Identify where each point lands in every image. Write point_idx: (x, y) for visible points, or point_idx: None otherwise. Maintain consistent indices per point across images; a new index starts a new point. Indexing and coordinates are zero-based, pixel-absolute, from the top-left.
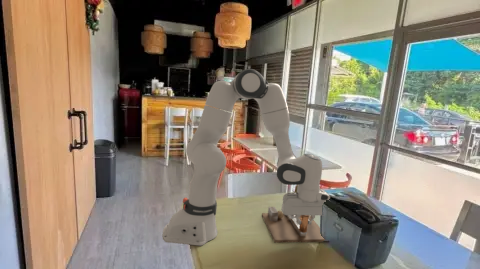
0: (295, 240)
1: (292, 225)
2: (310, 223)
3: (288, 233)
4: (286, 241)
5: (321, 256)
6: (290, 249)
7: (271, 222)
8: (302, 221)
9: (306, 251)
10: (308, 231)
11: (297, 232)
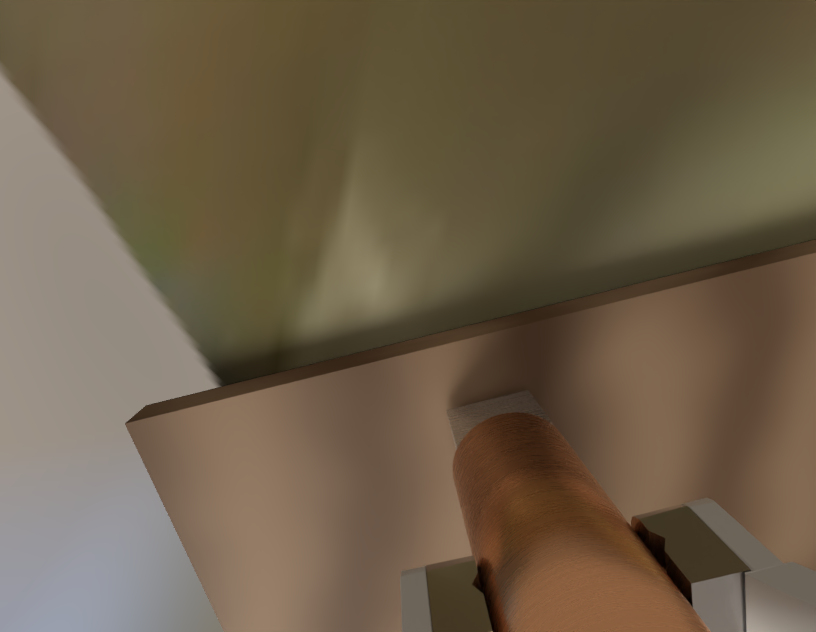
0: (598, 301)
1: None
2: (426, 582)
3: (663, 427)
4: (709, 270)
5: (290, 33)
6: (685, 119)
7: None
8: (661, 575)
9: (480, 117)
10: (390, 530)
11: None
